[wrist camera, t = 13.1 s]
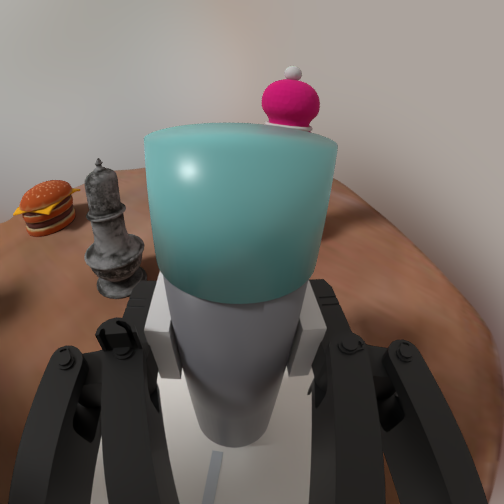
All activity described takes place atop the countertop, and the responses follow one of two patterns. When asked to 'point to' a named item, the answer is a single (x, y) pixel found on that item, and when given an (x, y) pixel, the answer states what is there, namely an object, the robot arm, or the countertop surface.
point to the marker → (236, 258)
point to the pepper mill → (290, 102)
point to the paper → (234, 452)
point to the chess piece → (111, 237)
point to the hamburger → (47, 207)
